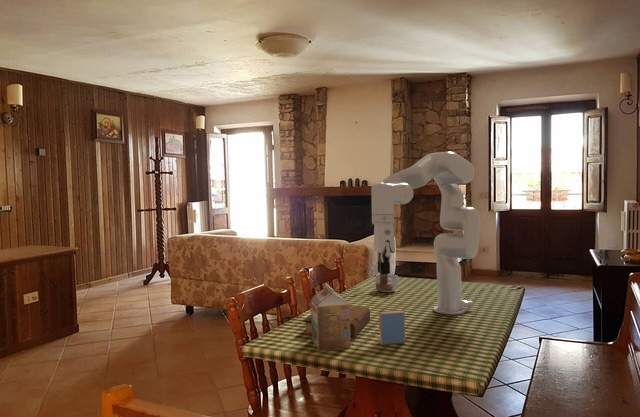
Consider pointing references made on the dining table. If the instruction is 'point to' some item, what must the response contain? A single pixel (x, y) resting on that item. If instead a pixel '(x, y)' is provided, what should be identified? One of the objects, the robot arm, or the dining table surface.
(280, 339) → the dining table surface
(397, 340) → the tile
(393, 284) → the teacup
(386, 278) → the post
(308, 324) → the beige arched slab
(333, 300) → the milk carton
